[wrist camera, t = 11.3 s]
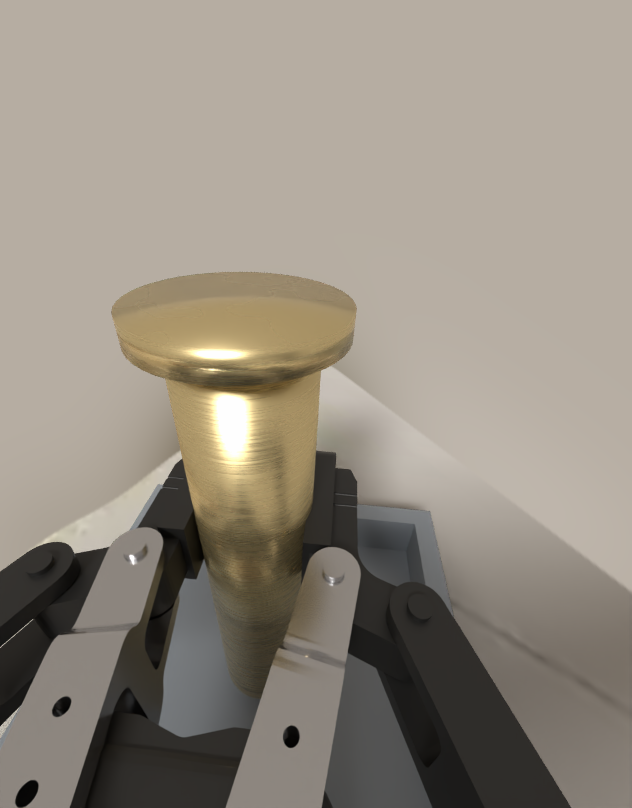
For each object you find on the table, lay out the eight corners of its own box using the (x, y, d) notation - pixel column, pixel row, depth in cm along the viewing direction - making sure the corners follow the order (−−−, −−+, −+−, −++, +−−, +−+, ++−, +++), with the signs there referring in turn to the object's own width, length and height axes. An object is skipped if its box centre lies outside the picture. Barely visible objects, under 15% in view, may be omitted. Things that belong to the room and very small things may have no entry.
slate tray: (417, 548, 22) (429, 511, 20) (513, 1111, 9) (576, 1160, 7) (168, 522, 23) (158, 484, 21) (-85, 1006, 10) (-177, 1025, 8)
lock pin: (321, 604, 17) (355, 279, 8) (312, 726, 13) (358, 361, 5) (229, 594, 17) (175, 266, 9) (196, 711, 13) (46, 336, 5)
